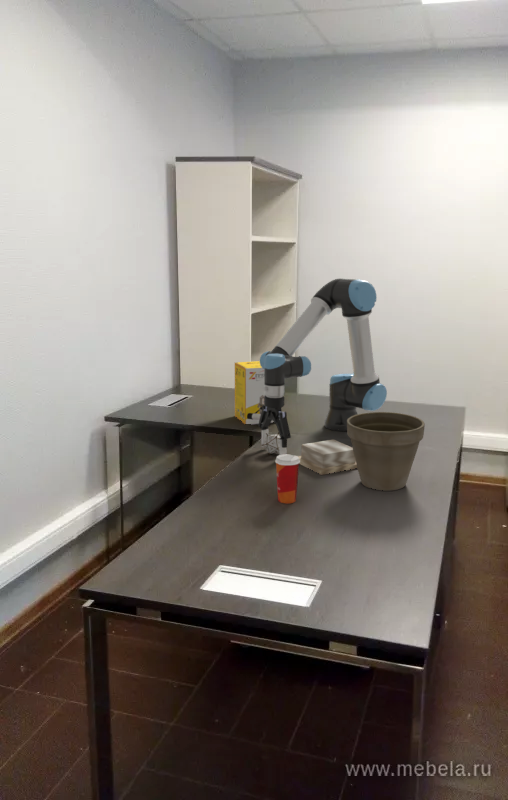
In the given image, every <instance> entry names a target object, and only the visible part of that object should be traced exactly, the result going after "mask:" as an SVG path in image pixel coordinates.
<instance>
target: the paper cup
mask: <svg viewBox="0 0 508 800" xmlns="http://www.w3.org/2000/svg"><path fill="white" fill-rule="evenodd" d="M298 456H299V455H295V454H290V453H289V454H282V455H279V454H278V455H277V456H276V458H275V461H274V463H275V467H276V468H275V469H276V471H275V472H276V488H277V501H278V503H280V504H286V505H287V504H293V503H294V504H295V503H296V501H297V493H298V492H297V491H298V480H299V479H298V478H299V470H300V469H299V468H300V467H299V465H300V464H299V463H300V460H299V457H298Z"/></svg>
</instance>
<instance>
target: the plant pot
mask: <svg viewBox="0 0 508 800" xmlns="http://www.w3.org/2000/svg"><path fill="white" fill-rule="evenodd" d="M425 424H426V423H425V421H424V420H422V419H421V418H420V417H416V416H414V415H411V414H406V413H401V412H394V411H393V412H391V411H370V412H363V413H357V415H354V416H351V417H350V418H348V419H347V431H346V432H347V436H348V438H349V439H350V443H351V447H352V448H353V452H354V456H355V460H356V464H357V472H358V476H359V479H360V482H361V484H362V485H363V486H364V487H366V488H369V489H371V488H372V489H371V490H375V489H376V490H375V491H382V490H383V491H385V492H389V491H391V492H393V491H397V490H400V489H403V488H404V487H406V485H407V483H408V479H409V477H410V474H411V473H410V472H411V471H412V467H413V462H414V461H415V458H416V455H417V452H418V448H419V446H420V442H422V440H423V439H424V436H425V426H426V425H425Z"/></svg>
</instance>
